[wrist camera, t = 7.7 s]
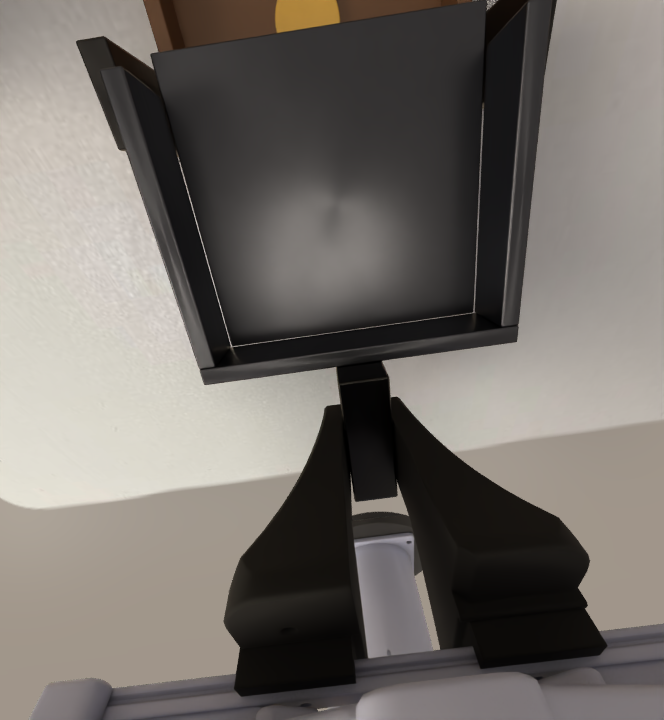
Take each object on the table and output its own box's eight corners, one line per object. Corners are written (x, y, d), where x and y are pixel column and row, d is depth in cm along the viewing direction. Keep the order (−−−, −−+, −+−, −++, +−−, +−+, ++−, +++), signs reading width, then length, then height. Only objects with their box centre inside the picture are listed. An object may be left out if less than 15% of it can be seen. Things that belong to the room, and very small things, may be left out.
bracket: (478, 110, 13) (544, 84, 9) (173, 158, 13) (118, 150, 9) (485, 28, 11) (565, -41, 8) (148, 82, 12) (74, 39, 8)
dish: (475, 421, 15) (523, 481, 11) (252, 451, 15) (232, 518, 12) (498, 8, 9) (607, -126, 6) (139, 66, 9) (32, -30, 6)
